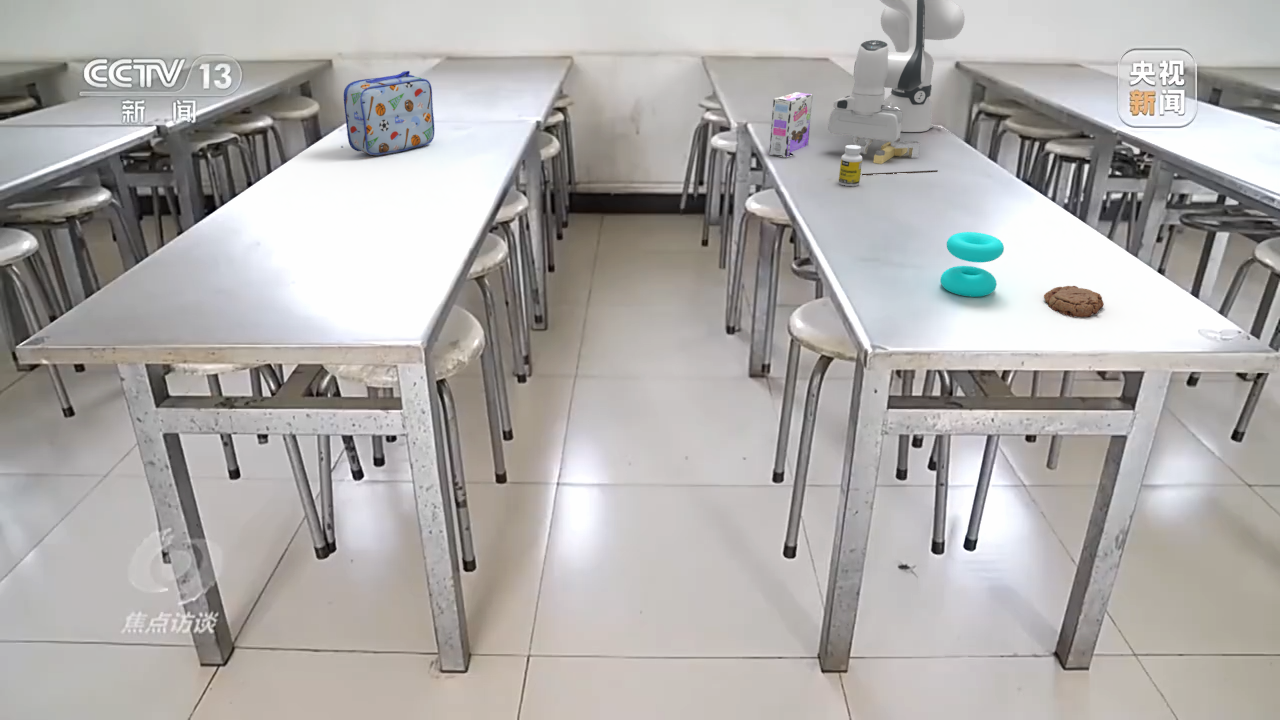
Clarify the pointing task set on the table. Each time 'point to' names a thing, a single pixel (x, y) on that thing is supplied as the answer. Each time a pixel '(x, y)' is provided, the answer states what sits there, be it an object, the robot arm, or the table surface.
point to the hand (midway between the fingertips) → (860, 153)
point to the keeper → (911, 145)
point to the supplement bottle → (850, 166)
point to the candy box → (790, 123)
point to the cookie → (1074, 301)
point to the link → (888, 153)
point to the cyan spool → (969, 277)
